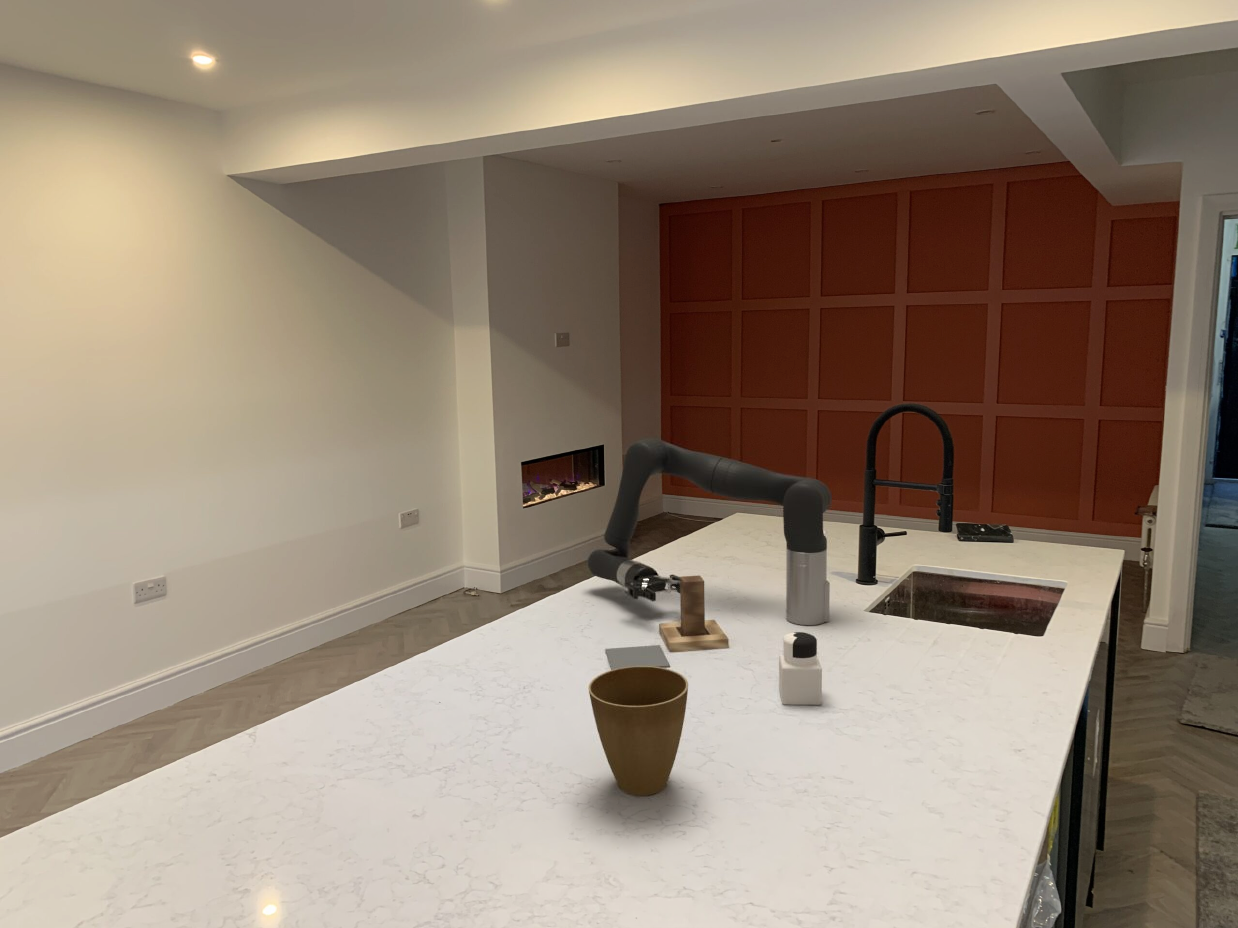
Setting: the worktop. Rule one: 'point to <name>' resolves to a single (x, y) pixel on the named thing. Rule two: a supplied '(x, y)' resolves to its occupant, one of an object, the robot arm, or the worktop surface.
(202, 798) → the worktop surface
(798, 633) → the medicine bottle
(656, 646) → the grey mat
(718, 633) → the oak socket
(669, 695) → the plant pot
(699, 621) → the walnut post
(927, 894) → the worktop surface
